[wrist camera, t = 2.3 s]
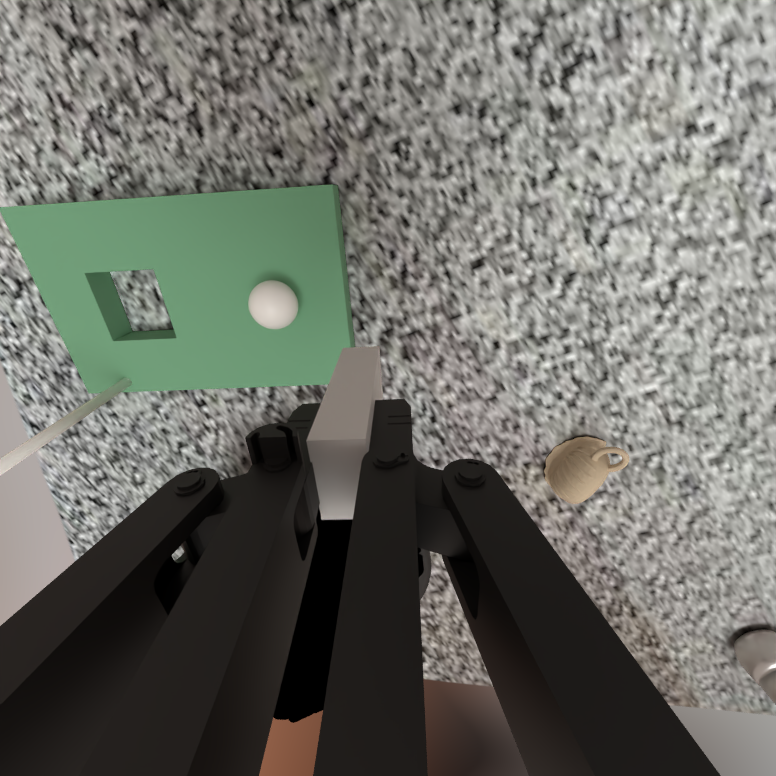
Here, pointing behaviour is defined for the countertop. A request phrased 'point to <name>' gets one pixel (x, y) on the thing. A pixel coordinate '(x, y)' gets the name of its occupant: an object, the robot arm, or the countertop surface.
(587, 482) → the decorative ornament
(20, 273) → the countertop surface
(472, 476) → the robot arm
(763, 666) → the plastic bottle
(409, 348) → the countertop surface
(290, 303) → the ball
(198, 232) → the green
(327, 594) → the coal bowl
